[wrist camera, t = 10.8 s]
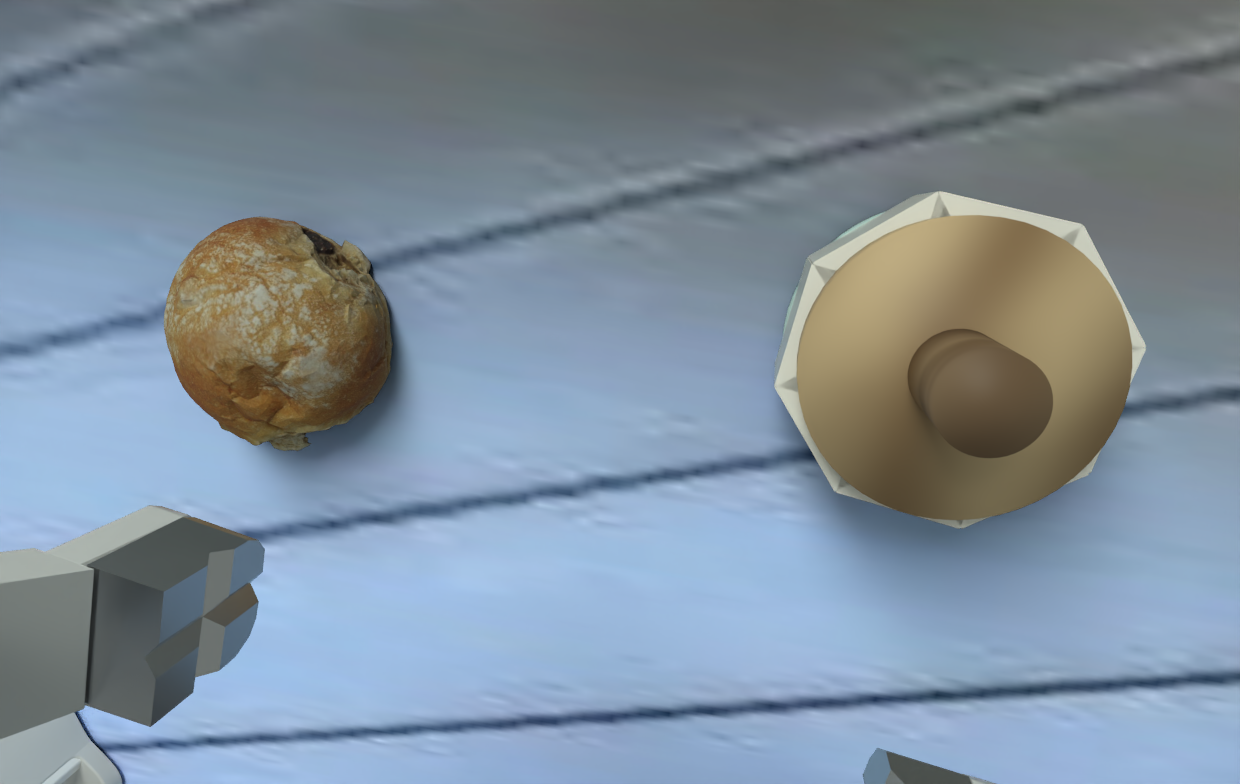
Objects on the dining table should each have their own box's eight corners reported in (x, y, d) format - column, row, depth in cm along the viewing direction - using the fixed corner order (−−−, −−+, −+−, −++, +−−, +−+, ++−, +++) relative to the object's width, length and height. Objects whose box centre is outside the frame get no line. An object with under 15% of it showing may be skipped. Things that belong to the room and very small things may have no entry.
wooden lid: (1161, 244, 23) (1269, 251, 18) (1059, 535, 25) (1128, 613, 20) (833, 192, 24) (847, 185, 19) (769, 471, 27) (767, 529, 22)
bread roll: (450, 310, 37) (405, 257, 29) (344, 489, 36) (266, 483, 28) (287, 223, 38) (200, 147, 30) (176, 393, 37) (54, 362, 29)
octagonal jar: (1011, 505, 30) (1055, 560, 25) (750, 431, 32) (746, 468, 27) (1121, 241, 27) (1195, 247, 22) (828, 173, 29) (838, 164, 24)
